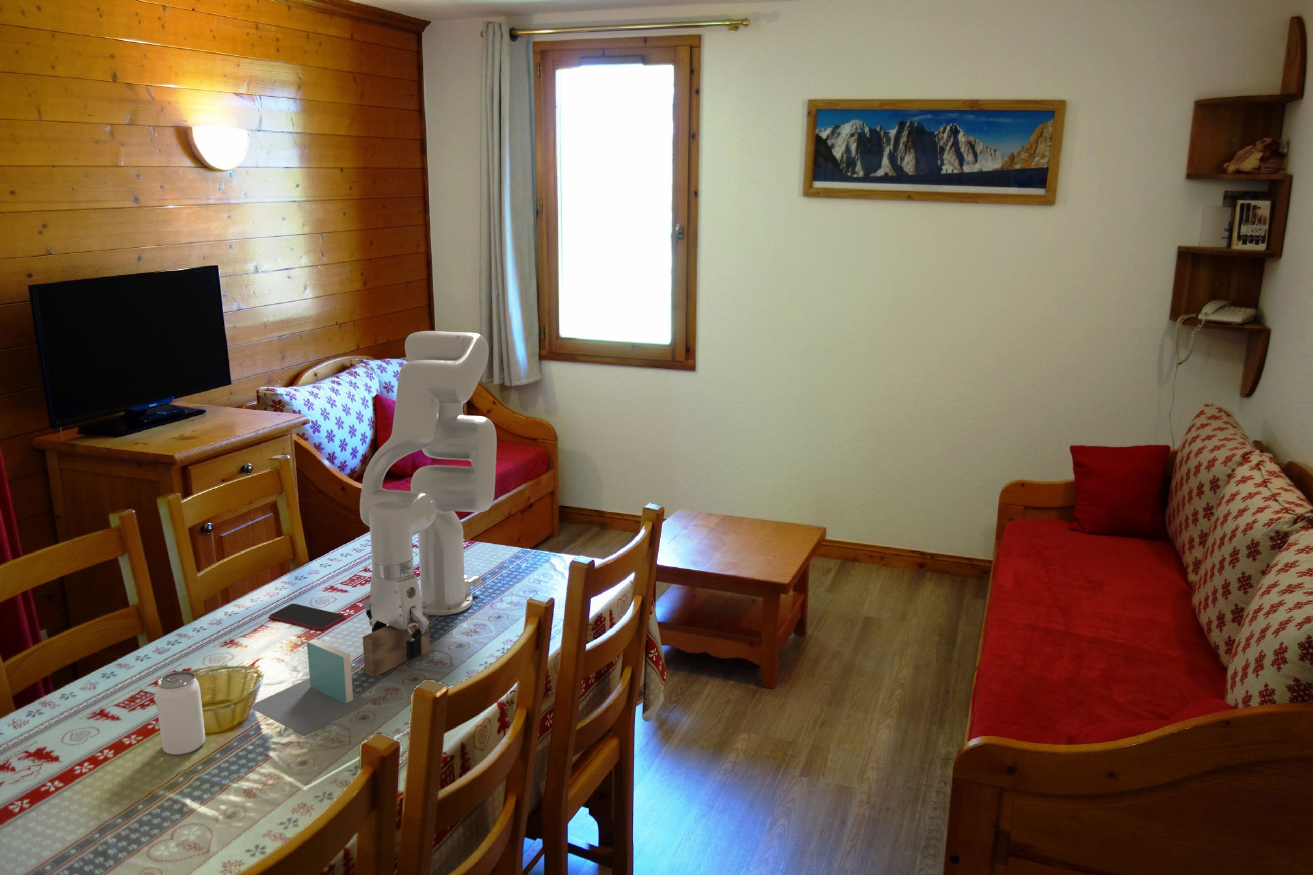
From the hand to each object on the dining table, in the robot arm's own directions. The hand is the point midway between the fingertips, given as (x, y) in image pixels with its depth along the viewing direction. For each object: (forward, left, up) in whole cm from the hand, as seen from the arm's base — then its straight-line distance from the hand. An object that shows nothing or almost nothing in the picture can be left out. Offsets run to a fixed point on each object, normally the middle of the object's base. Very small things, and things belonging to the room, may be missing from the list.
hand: (397, 650), depth 190 cm
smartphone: (-2, -31, -3) cm, 31 cm away
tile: (+15, 0, -2) cm, 15 cm away
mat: (+20, 0, -3) cm, 20 cm away
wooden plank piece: (0, 0, -3) cm, 3 cm away
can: (+40, -6, -3) cm, 40 cm away
